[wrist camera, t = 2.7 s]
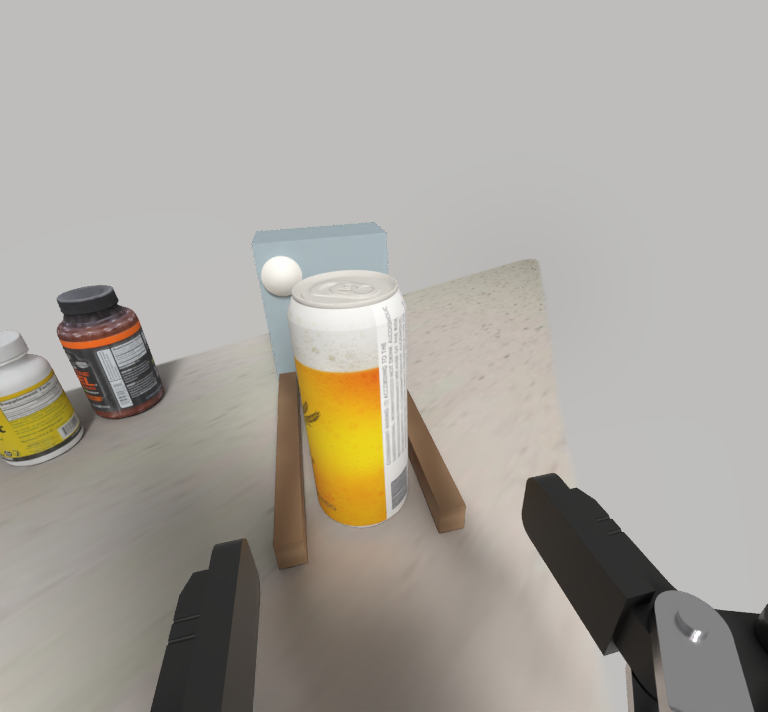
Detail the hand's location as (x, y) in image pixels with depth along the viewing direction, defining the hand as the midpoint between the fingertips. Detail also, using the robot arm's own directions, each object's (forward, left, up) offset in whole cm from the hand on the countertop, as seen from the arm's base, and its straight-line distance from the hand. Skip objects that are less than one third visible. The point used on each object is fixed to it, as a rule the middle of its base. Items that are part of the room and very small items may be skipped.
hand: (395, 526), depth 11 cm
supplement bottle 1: (-25, +24, -12) cm, 36 cm away
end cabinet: (0, +32, -12) cm, 34 cm away
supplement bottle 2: (-20, +29, -12) cm, 37 cm away
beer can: (0, +12, -12) cm, 17 cm away
